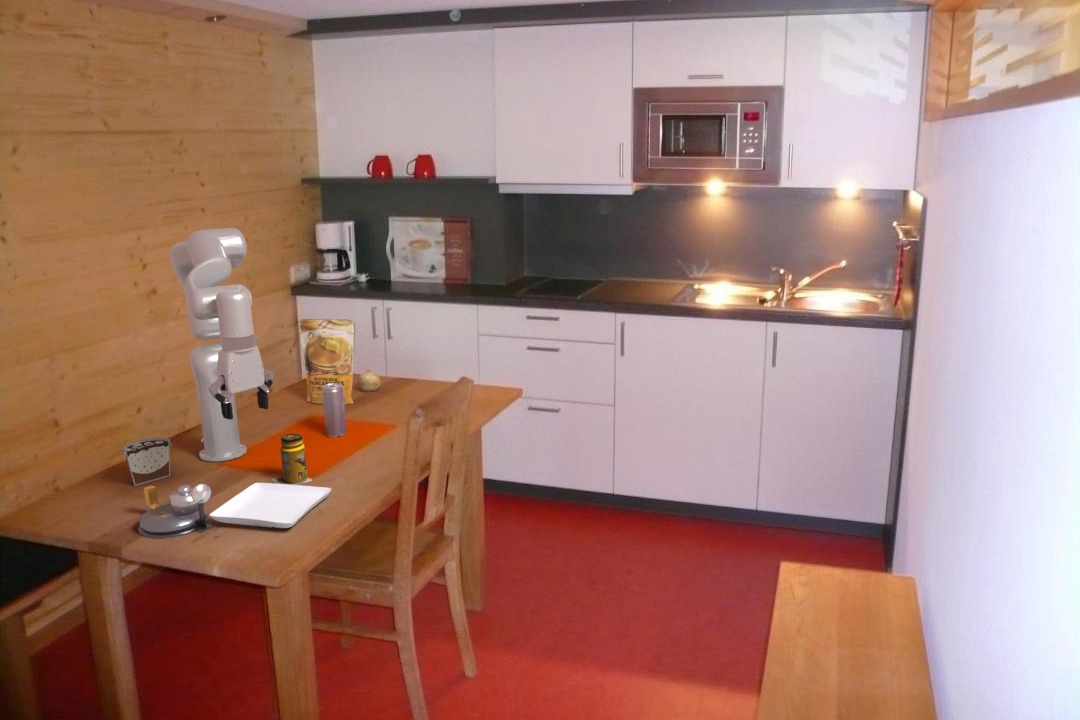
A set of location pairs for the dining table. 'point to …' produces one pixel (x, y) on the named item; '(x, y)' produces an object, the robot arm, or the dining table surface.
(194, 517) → the turntable
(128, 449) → the food container
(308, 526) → the dining table surface
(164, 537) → the turntable base
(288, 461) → the condiment
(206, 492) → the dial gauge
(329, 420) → the beverage can
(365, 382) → the onion
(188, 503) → the cover
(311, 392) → the pancake mix bag
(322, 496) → the salad plate
